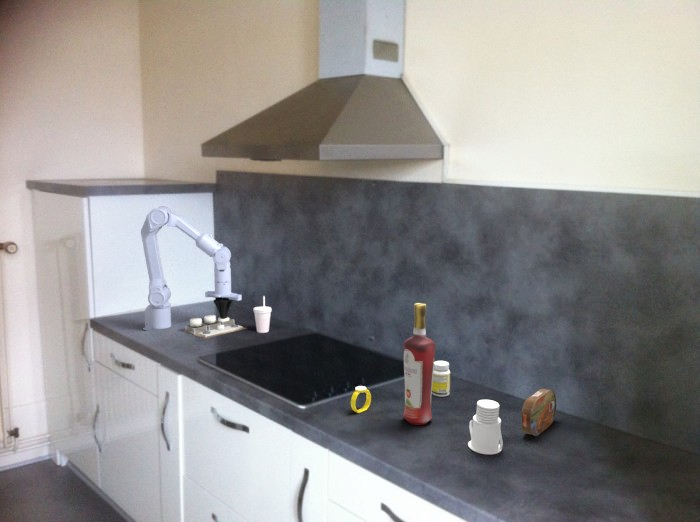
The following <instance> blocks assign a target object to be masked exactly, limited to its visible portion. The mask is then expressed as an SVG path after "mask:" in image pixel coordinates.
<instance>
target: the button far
mask: <svg viewBox="0 0 700 522" xmlns="http://www.w3.org/2000/svg"><path fill="white" fill-rule="evenodd" d="M229 318H230V317H229V316H227V318H225V319H221V318H220V317H218V318H217V319H218V321H221V322H225V321H229Z"/></svg>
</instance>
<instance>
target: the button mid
mask: <svg viewBox="0 0 700 522" xmlns="http://www.w3.org/2000/svg"><path fill="white" fill-rule="evenodd" d="M216 319H217V316H216V315H214V314H207V315H204V317H203V322H204V323H206V324H212V323H216Z"/></svg>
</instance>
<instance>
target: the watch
mask: <svg viewBox="0 0 700 522" xmlns="http://www.w3.org/2000/svg"><path fill="white" fill-rule="evenodd" d="M360 393H365V394H366V395H365V398H366V399H365V403H364V405H363V406H362V407H361V408H359V409H357V407H356V402H357V398H358V396H359V395H360ZM371 402H372V393H371V392H370V390H369V389H367V387H366V386H365V385H364V386H363V385H358V386H355V390H354V392H353V394H352V395H351V398H350V406H351V407H350V408H351V411H354V412H355V413H357V414H360V413H363V412H365V411H367V410H369V407H370V405H371Z"/></svg>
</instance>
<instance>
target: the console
mask: <svg viewBox="0 0 700 522" xmlns="http://www.w3.org/2000/svg"><path fill="white" fill-rule="evenodd" d="M217 325H224V327H227V326H231V325H235V319H234V318H230V317H229V321H225V322H221V321H218V318H216V323H212V324H206V323H204V321H202V326H199V327H191V326H190V324H188V325H185V326H184V329H183V330H181V332H183V333H186V334H190V335H193V336H196V337H198V338H199V337H200V338H204V339H210V338H213V337H217V336H221V335H226V334H229V333H234V332H238V331H241V330H242V331H243V330H247V329H248V328H247V327H244V326H243V328H240V329H236V330H232V331H228V332H224V333H220V334H216V335H211V336H207V337H204V336H201V335H198V333H201V332H204V331H209V330H214V329H217Z"/></svg>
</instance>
